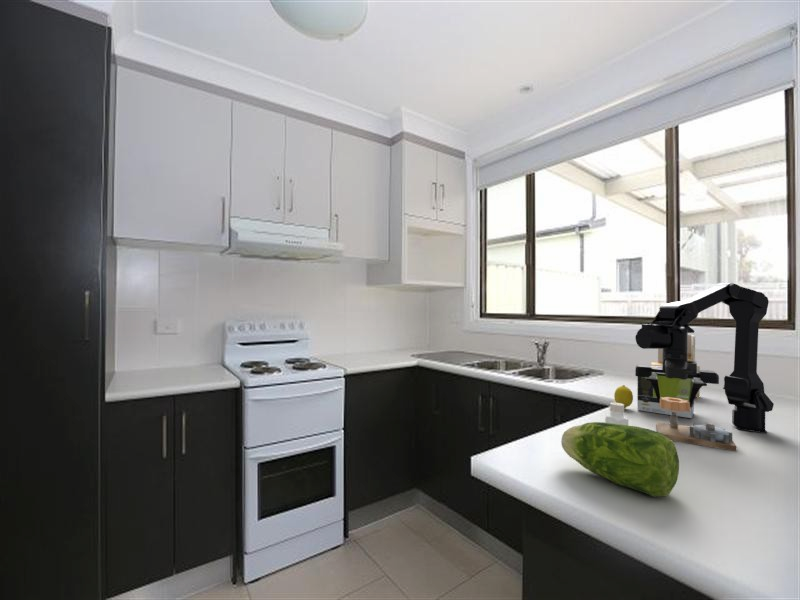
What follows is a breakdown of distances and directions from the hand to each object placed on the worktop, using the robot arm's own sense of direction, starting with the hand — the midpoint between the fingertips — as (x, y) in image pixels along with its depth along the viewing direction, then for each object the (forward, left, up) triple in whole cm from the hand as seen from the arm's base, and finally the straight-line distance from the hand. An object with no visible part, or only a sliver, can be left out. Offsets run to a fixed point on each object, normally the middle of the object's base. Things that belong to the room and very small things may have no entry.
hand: (674, 404), depth 109 cm
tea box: (+1, -25, -8) cm, 27 cm away
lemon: (+13, -21, -8) cm, 26 cm away
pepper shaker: (+13, +19, -8) cm, 24 cm away
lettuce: (+12, +46, -8) cm, 48 cm away
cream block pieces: (-5, -59, -8) cm, 59 cm away
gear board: (-4, +3, -8) cm, 9 cm away
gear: (0, 0, -1) cm, 1 cm away
